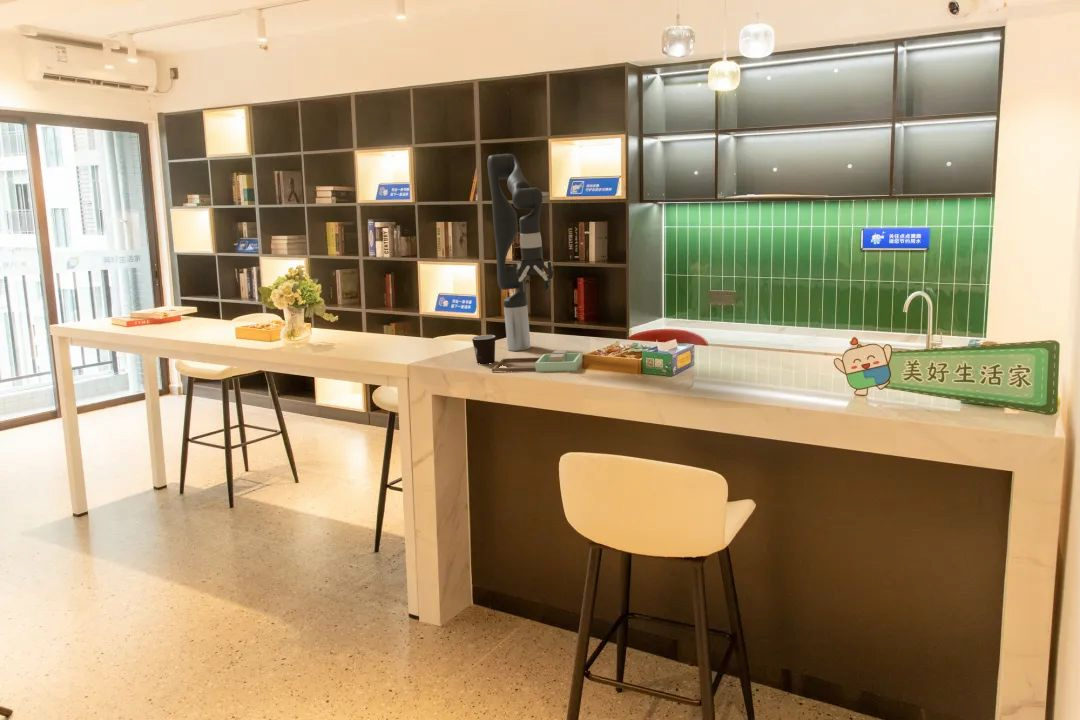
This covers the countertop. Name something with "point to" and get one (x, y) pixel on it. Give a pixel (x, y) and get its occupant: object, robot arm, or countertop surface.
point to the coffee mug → (484, 348)
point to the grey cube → (562, 353)
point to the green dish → (559, 363)
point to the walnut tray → (517, 364)
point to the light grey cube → (557, 358)
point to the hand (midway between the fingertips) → (534, 291)
